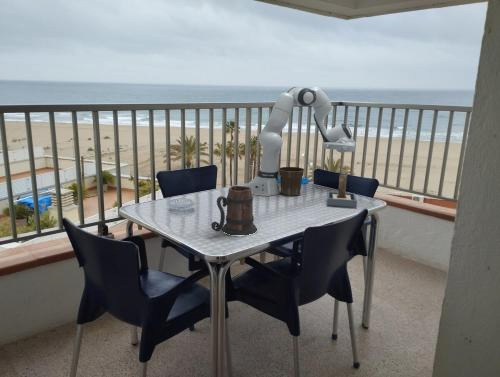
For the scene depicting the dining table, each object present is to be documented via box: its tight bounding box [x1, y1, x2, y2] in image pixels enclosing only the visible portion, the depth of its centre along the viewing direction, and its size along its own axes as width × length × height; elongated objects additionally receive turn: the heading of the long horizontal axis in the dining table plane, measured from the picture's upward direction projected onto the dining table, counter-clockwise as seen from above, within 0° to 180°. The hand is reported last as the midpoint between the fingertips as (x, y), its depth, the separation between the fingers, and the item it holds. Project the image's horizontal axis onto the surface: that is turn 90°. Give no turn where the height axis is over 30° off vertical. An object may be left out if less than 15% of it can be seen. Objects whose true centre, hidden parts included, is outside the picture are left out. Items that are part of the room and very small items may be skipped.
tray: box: [326, 191, 358, 209], centre depth 211 cm, size 16×16×4 cm
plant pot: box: [278, 166, 305, 197], centre depth 229 cm, size 16×16×16 cm
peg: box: [337, 173, 348, 198], centre depth 209 cm, size 4×4×16 cm
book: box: [278, 176, 309, 187], centre depth 256 cm, size 17×4×25 cm
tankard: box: [210, 185, 258, 236], centre depth 164 cm, size 24×17×20 cm
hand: (335, 147), depth 222 cm, fingers open, 8 cm apart
